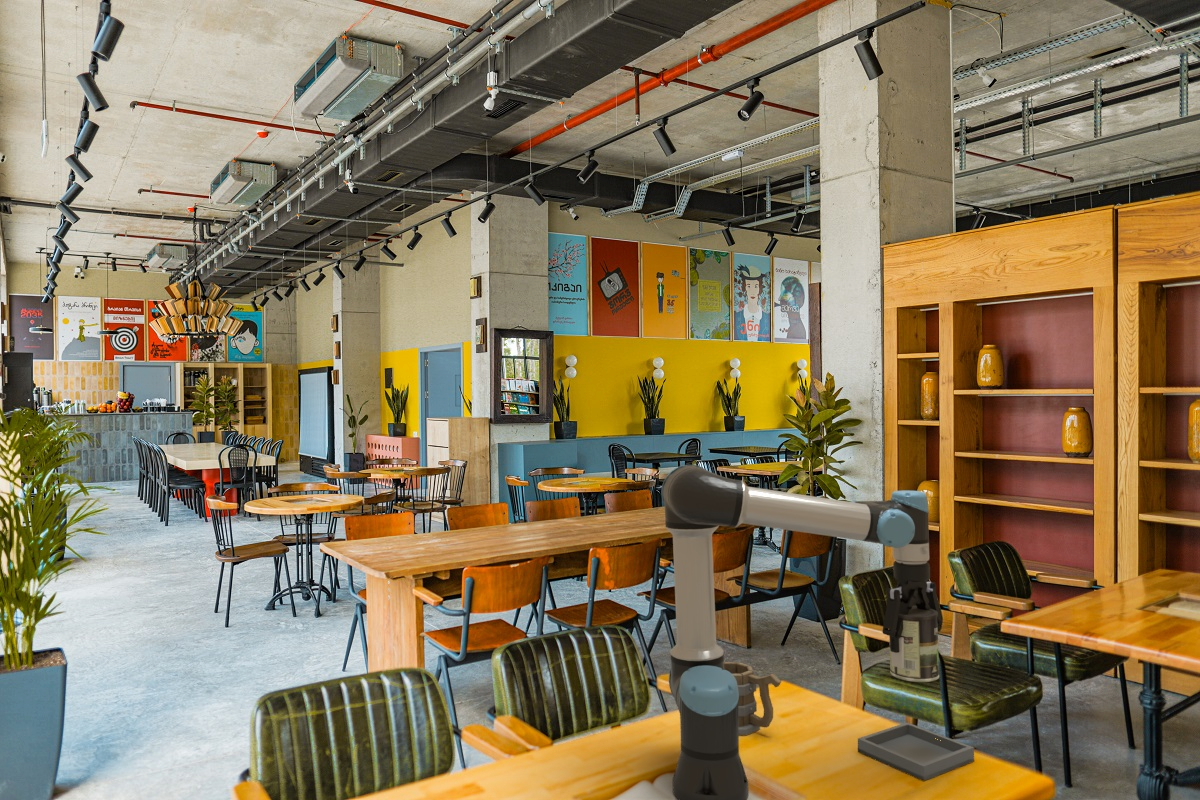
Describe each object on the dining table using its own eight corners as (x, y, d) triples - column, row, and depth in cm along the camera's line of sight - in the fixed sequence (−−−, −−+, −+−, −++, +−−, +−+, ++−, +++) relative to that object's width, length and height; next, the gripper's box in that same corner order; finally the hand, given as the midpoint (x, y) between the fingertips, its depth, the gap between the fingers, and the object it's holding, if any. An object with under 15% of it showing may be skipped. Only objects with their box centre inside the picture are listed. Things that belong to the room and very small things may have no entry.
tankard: (695, 725, 195) (694, 663, 196) (728, 711, 204) (727, 652, 204) (762, 750, 180) (761, 683, 181) (794, 734, 189) (793, 670, 189)
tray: (924, 781, 164) (923, 766, 164) (857, 751, 179) (857, 738, 179) (974, 761, 173) (973, 747, 173) (907, 735, 188) (907, 722, 188)
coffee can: (934, 668, 180) (932, 605, 181) (944, 683, 170) (942, 617, 170) (886, 666, 182) (884, 604, 183) (893, 681, 172) (891, 615, 172)
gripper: (891, 569, 168) (894, 676, 167) (958, 557, 179) (960, 657, 179) (863, 564, 174) (865, 667, 174) (928, 553, 186) (931, 649, 185)
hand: (913, 662), depth 176 cm, fingers closed on coffee can, 10 cm apart
